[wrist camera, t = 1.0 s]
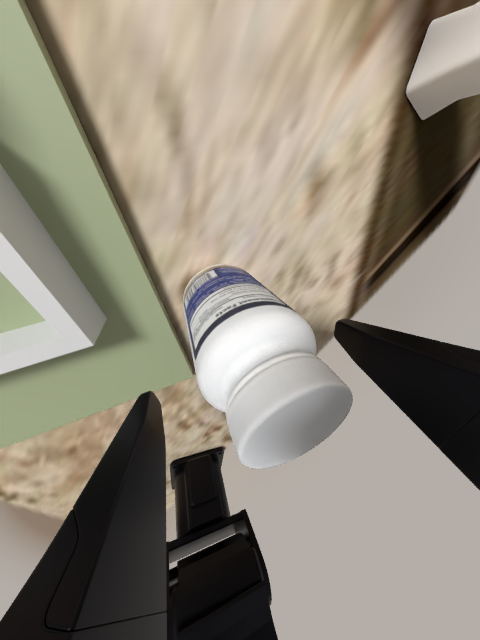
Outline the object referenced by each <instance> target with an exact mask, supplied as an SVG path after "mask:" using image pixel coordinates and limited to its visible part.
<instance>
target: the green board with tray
mask: <svg viewBox="0 0 480 640" xmlns="http://www.w3.org/2000/svg"><path fill="white" fill-rule="evenodd" d="M192 377H193V371H192V367H191V365H190V362H189V360H188V358H187V356H186V354H185V352H184V349H183V347H182V345H181V343H180V341H179V338H178V336H177V334H176V332H175V330H174V327H173V325H172V323H171V321H170V319H169V316H168V314H167V312H166V310H165V308H164V305H163V303H162V301H161V299H160V297H159V294H158V292H157V290H156V288H155V286H154V283H153V281H152V279H151V277H150V275H149V272H148V270H147V268H146V266H145V264H144V261H143V259H142V257H141V255H140V253H139V251H138V248H137V246H136V244H135V242H134V240H133V237H132V235H131V233H130V231H129V229H128V226H127V224H126V222H125V220H124V218H123V215H122V213H121V211H120V209H119V207H118V204H117V202H116V200H115V198H114V196H113V193H112V191H111V189H110V187H109V185H108V182H107V180H106V178H105V176H104V174H103V171H102V169H101V167H100V165H99V163H98V160H97V158H96V156H95V154H94V152H93V150H92V147H91V145H90V143H89V141H88V139H87V136H86V134H85V132H84V130H83V128H82V125H81V123H80V121H79V119H78V117H77V114H76V112H75V110H74V108H73V106H72V103H71V101H70V99H69V97H68V95H67V92H66V90H65V88H64V86H63V84H62V81H61V79H60V77H59V75H58V73H57V70H56V68H55V66H54V64H53V62H52V60H51V57H50V55H49V53H48V51H47V49H46V46H45V44H44V42H43V40H42V38H41V35H40V33H39V31H38V29H37V27H36V24H35V22H34V20H33V18H32V16H31V13H30V11H29V9H28V7H27V5H26V2H25V0H0V449H2V448H4V447H7V446H10V445H12V444H15V443H18V442H20V441H23V440H26V439H28V438H31V437H34V436H36V435H39V434H42V433H44V432H47V431H50V430H52V429H55V428H58V427H60V426H63V425H66V424H69V423H71V422H74V421H77V420H79V419H82V418H85V417H87V416H90V415H93V414H95V413H98V412H101V411H103V410H106V409H109V408H111V407H114V406H117V405H119V404H122V403H125V402H127V401H130V400H133V399H135V398H138V397H139V396H140V395H141V394H142V393H145V392H147V391H152V392H154V391H157V390H160V389H162V388H165V387H168V386H170V385H173V384H176V383H178V382H181V381H184V380H186V379H189V378H192Z"/></svg>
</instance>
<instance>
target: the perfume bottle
mask: <svg viewBox="0 0 480 640" xmlns="http://www.w3.org/2000/svg"><path fill="white" fill-rule="evenodd" d="M477 94H480V1H479V2H478V3H476V4H475V5H473V6H470V7H467V8H465V9H462V10H459V11H456V12H454V13H451V14H448V15H446V16H443V17H440V18H437V19H435V20H433V21H432V22H431V23H430V25H429V28H428V30H427V33H426V36H425V38H424V41H423V44H422V47H421V50H420V52H419V55H418V58H417V61H416V63H415V66H414V69H413V72H412V74H411V77H410V80H409V83H408V85H407V89H406V95H407V97H408V99H409V100H410V102H411V104H412V105H413V107H414V109H415V110H416V112H417V113H418V115H419V117H420V118H421V120H425V119H426V118H428V117H430V116H432V115H433V114H435V113H437V112H438V111H440V110H442V109H443V108H445V107H447V106H448V105H450V104H452V103H453V102H455V101H457V100H459V99H462V98H466V97H470V96H473V95H477Z"/></svg>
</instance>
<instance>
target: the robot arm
mask: <svg viewBox="0 0 480 640" xmlns="http://www.w3.org/2000/svg"><path fill="white" fill-rule="evenodd" d="M334 336H335V338H336V339H337V341H338V342H339V343H340V344H341V346H342V347H343V348H344V349H345V351H346V352H347V353H348V354H349V356H350V357H351V358H352V359H353V361H354V362H355V363H356V364H357V365H358V366H359V367H360V368H361V369H362V370H363V371H364V372H365V373H366V374H367V375H368V376H369V377H370V378H371V379H372V380H373V381H374V382H375V383H376V384H377V385H378V386H379V388H380V389H381V390H382V391H383V392H384V393H385V394H386V395H387V396H389V398H390V399H391V400H392V401H393V402H394V403H395V404H396V405H397V406H398V407H399V408H400V409H401V410H402V411H403V412H404V413H405V414H406V415H407V416H408V417H409V418H410V419H411V420H412V421H413V422H414V423H415V424H416V425H417V426H418V427H419V428H420V430H422V431H423V433H425V435H426V436H427V437H428V438H429V439H430V440H431V441H432V442H433V443H434V444H435V445H436V446H437V447H438V448H439V449H440V450H441V451H442V452H443V453H444V454H445V455H446V456H447V457H448V458H449V459H450V460H451V461H452V462H453V464H454V465H455V466H456V467H458V469H459V470H461V472H462V473H463V474H464V475H465V476H466V477H467V478H468V479H469V480H470V481H471V482H472V483H473V484H474V485H475V486H476V487H477V488H478V489H479V490H480V351H479V350H474V349H470V348H465V347H462V346H457V345H453V344H449V343H445V342H440V341H436V340H432V339H428V338H424V337H420V336H415V335H411V334H407V333H403V332H399V331H395V330H390V329H386V328H382V327H378V326H374V325H369V324H366V323H361V322H357V321H353V320H349V319H341V320H339V321H337V322H336V325H335V331H334ZM223 454H224V451H223V448H218V449H215V450H212V451H208V452H205V453H201V454H198V455H195V456H191V457H188V458H185V459H181V460H178V461H174V462H172V463H171V464H170V473H171V485H172V489H175V505H176V531H177V539H176V540H173V541H171V542H166V446H165V435H164V426H163V418H162V410H161V404H160V402H159V400H158V399H157V397H156V396H155V394H154V393H153V392H152V391H147V392H145V393H142V394H141V395H140V396H139V397H138V399H137V400H136V402H135V404H134V405H133V407H132V409H131V411H130V412H129V414H128V416H127V417H126V419H125V421H124V422H123V424H122V426H121V427H120V429H119V431H118V432H117V434H116V436H115V437H114V439H113V441H112V442H111V444H110V446H109V447H108V449H107V451H106V452H105V454H104V456H103V457H102V459H101V461H100V463H99V464H98V466H97V468H96V469H95V471H94V473H93V474H92V476H91V478H90V479H89V481H88V483H87V484H86V486H85V488H84V489H83V491H82V493H81V494H80V496H79V498H78V499H77V501H76V503H75V504H74V506H73V509H72V510H71V511H70V513H69V514H68V516H67V518H66V519H65V521H64V523H63V525H62V526H61V528H60V530H59V531H58V533H57V534H56V536H55V537H54V539H53V541H52V542H51V544H50V546H49V547H48V549H47V551H46V552H45V554H44V555H43V557H42V559H41V560H40V562H39V563H38V565H37V566H36V568H35V569H34V571H33V573H32V574H31V576H30V577H29V579H28V580H27V582H26V583H25V585H24V586H23V588H22V589H21V591H20V592H19V594H18V596H17V597H16V599H15V600H14V602H13V603H12V605H11V606H10V608H9V609H8V611H7V612H6V614H5V615H4V617H3V618H2V620H1V621H0V640H278V638H277V635H276V631H275V627H274V623H273V619H272V615H271V610H270V605H271V600H272V599H271V588H270V582H269V577H268V573H267V569H266V566H265V562H264V559H263V556H262V553H261V551H260V548H259V545H258V542H257V540H256V537H255V534H254V531H253V529H252V526H251V523H250V520H249V517H248V515H247V512H246V510H245V509H244V510H241V511H240V512H239V513H237V514H235V515H232V516H230V511H229V507H228V502H227V498H226V493H225V488H224V483H223V478H222V474H221V470H220V469H221V465H222V459H223ZM234 533H235V535H233V536H231V537H229V538H227V539H224V538H226V537H228V536H230V535H232V534H234ZM221 539H224V540H222V541H220V542H218V543H216V544H214V545H212V546H209V547H207V548H205V549H203V550H201V551H199V552H197V553H195V554H192V555H190V556H188V557H186V558H184V559H182V560H179V561H178V562H177V566H176V567H174V568H172V569H170V570H169V563H172V562H174V561H176V560H178V559H180V558H183V557H185V556H187V555H189V554H191V553H193V552H196V551H198V550H200V549H202V548H204V547H206V546H208V545H211V544H213V543H215V542H217V541H219V540H221Z"/></svg>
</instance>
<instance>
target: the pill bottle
mask: <svg viewBox="0 0 480 640" xmlns="http://www.w3.org/2000/svg"><path fill="white" fill-rule="evenodd" d="M183 310H184V315H185V320H186V325H187V330H188V336H189V340H190V345H191V351H192V356H193V361H194V367H195V373H196V378H197V382H198V386H199V388H200V391H201V393H202V394H203V396H204V398H205V399H206V400H207V401H208V402H209V403H210V404H211V405H212V406H213V407H215V408H216V409H218V410H220V411H223V412H226V418H227V426H228V429H229V431H230V434H231V437H232V440H233V443H234V447H235V450H236V453H237V456H238V458H239V460H240V462H241V463H242V464H243V465H245V466H246V467H248V468H253V469H265V468H270V467H274V466H277V465H281V464H283V463H286V462H288V461H291V460H292V459H295V458H297V457H299V456H301V455H303V454H304V453H306V452H308V451H309V450H311V449H312V448H314V447H315V446H317V445H318V444H320V443H321V442H322V441H324V440H325V439H326V438H327V437H329V436H330V435H331V434H332V433H333V432H334V431H335V430H336V429H337V428H338V426H339V425H340V424H341V423H342V422H343V420H344V419H345V418H346V416H347V414H348V413H349V411H350V408H351V406H352V400H353V399H352V393H351V391H350V389H349V388H348V387H347V385H346V384H345V383H344V382H343V381H342V380H340V378H339V377H338V376H337V375H336V374H335V373H334V372H333V371H332V370H331V369H330V368H329V367H328V366H327V365H326V364H325V363H323V362H322V361H321V360H320V359H319V358H318V357H316V352H317V345H316V338H315V335H314V333H313V331H312V329H311V327H310V326H309V324H308V323H307V322H306V321H305V320H304V319H303V318H302V317H301V316H300V315H299V314H298V313H296V312H295V311H294V310H293V309H292V308H290V307H289V306H288V305H287V304H285V303H284V302H283V301H282V300H280V299H279V298H278V297H277V296H276V295H274V294H273V293H272V292H271V291H269V290H268V289H267V288H266V287H264V286H263V285H262V284H261V283H259V282H258V281H257V280H256V279H255V278H253V277H252V276H251V275H250V274H249V273H247V272H246V271H244V270H243V269H241V268H239V267H237V266H234V265H229V264H217V265H213V266H209V267H207V268H205V269H203V270H201V271H200V272H198V273H197V274H196V275H195V276H194V277H193V278H192V279H191V280H190V282H189V283H188V285H187V287H186V289H185V292H184V296H183Z"/></svg>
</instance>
